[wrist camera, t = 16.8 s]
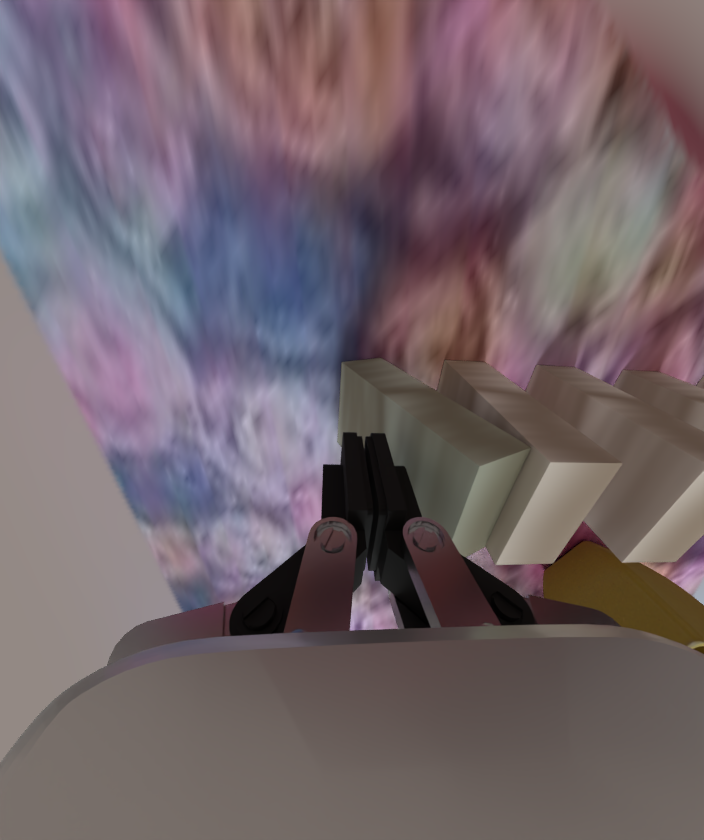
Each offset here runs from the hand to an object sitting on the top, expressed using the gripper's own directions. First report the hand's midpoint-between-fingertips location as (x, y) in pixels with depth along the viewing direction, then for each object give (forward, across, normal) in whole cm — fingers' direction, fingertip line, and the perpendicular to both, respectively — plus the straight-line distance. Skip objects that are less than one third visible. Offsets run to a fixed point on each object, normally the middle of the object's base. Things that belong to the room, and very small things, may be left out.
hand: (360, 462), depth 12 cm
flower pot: (+6, -23, +16) cm, 29 cm away
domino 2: (+6, -6, 0) cm, 9 cm away
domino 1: (+6, 0, 0) cm, 6 cm away
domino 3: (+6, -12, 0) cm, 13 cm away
